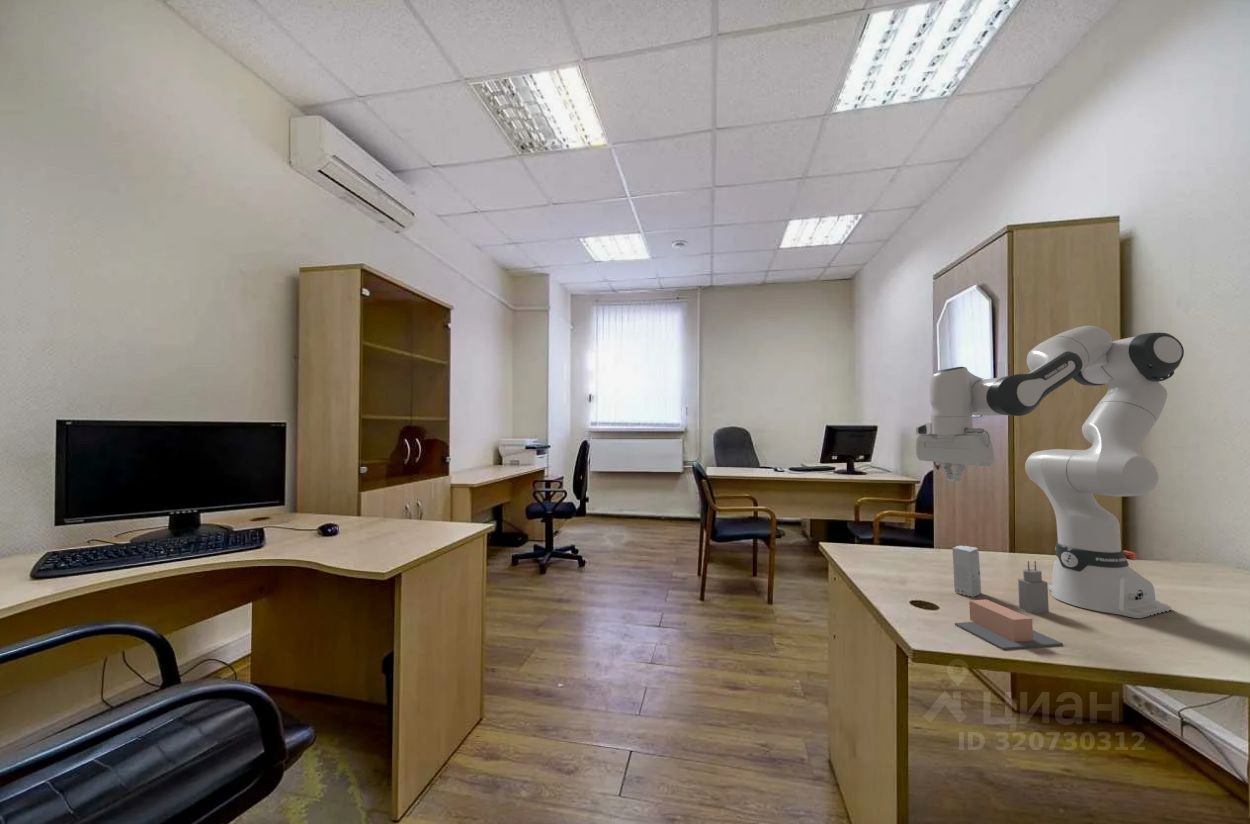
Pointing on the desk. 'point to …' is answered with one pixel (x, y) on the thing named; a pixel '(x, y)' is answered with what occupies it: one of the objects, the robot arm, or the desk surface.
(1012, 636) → the block
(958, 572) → the skincare box
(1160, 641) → the desk surface
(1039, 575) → the power adapter
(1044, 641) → the mat
